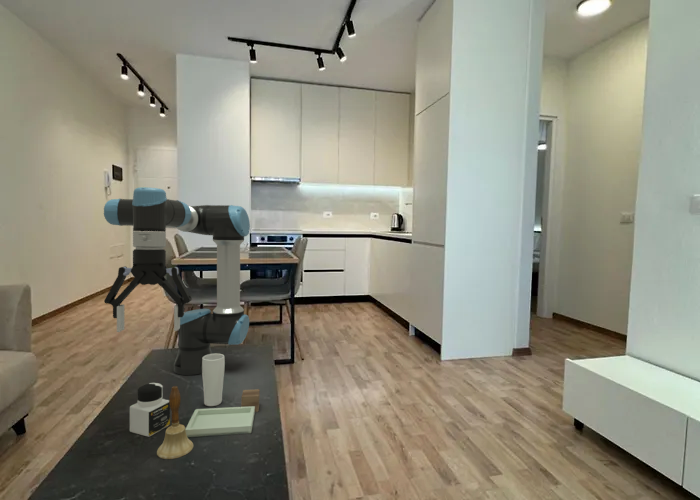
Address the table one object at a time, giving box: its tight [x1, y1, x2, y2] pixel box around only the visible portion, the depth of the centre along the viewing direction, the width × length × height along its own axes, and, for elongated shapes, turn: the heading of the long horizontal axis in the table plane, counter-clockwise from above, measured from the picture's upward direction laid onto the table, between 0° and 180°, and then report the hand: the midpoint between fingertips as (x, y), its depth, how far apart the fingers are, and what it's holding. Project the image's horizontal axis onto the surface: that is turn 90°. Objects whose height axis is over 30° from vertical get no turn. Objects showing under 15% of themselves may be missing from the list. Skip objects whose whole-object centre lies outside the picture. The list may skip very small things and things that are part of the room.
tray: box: [185, 406, 256, 438], centre depth 107 cm, size 12×17×2 cm
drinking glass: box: [201, 353, 226, 407], centre depth 120 cm, size 7×7×15 cm
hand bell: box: [156, 385, 194, 460], centre depth 94 cm, size 8×8×16 cm
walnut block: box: [240, 388, 261, 413], centre depth 117 cm, size 5×5×5 cm
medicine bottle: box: [129, 382, 171, 438], centre depth 104 cm, size 7×7×12 cm
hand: (149, 330), depth 98 cm, fingers open, 13 cm apart
